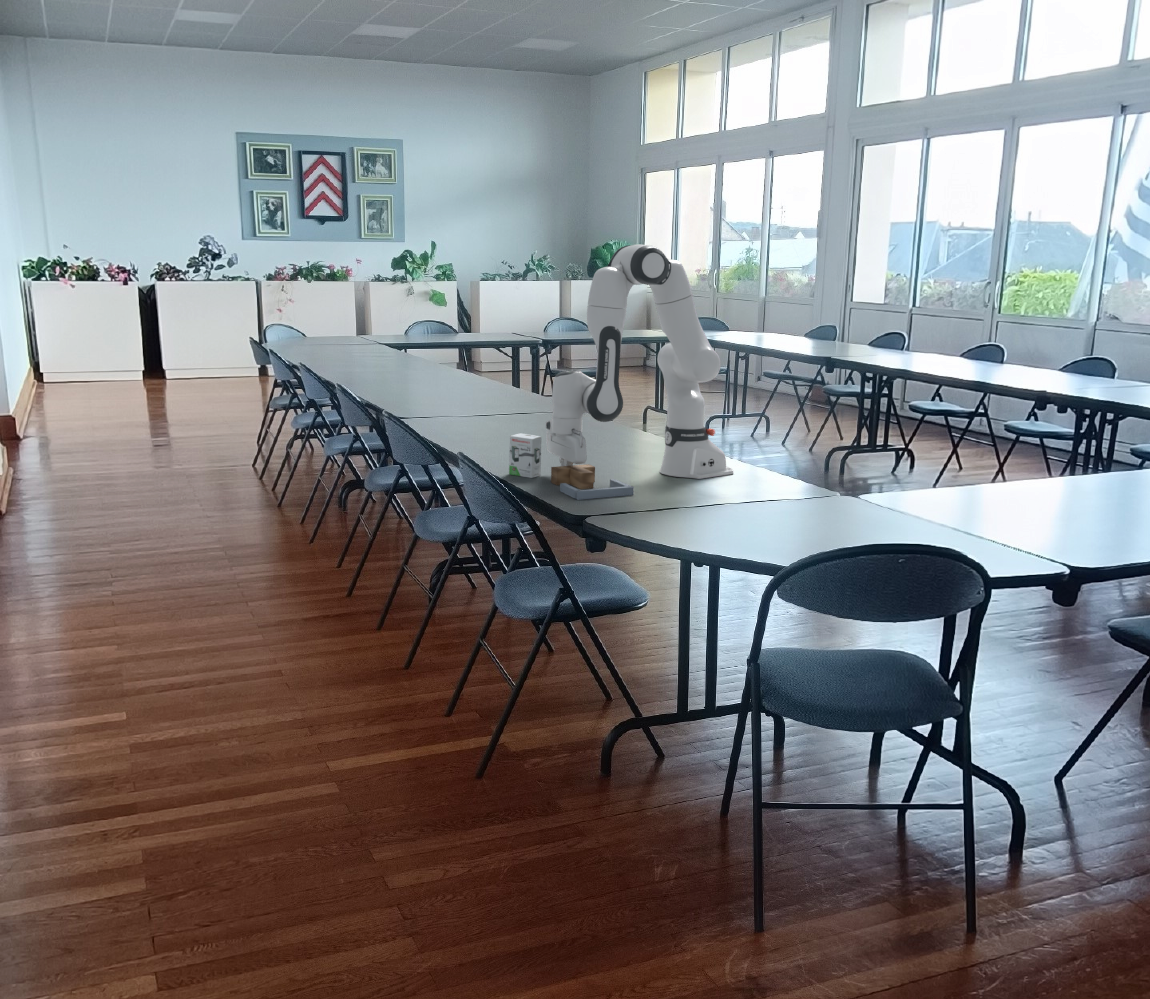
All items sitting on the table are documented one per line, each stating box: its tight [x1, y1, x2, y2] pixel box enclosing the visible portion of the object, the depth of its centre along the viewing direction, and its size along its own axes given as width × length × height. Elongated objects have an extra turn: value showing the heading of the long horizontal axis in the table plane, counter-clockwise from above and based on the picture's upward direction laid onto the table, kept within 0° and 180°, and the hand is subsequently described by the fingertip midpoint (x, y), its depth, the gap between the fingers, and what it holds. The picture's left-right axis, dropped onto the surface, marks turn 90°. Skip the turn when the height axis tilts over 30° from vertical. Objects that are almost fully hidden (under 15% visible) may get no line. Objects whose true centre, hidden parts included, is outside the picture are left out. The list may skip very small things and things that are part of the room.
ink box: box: [508, 432, 542, 479], centre depth 310 cm, size 9×5×12 cm, turn 57°
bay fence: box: [559, 478, 635, 501], centre depth 289 cm, size 17×11×2 cm, turn 116°
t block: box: [550, 463, 596, 490], centre depth 299 cm, size 12×11×4 cm
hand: (566, 473), depth 307 cm, fingers closed
